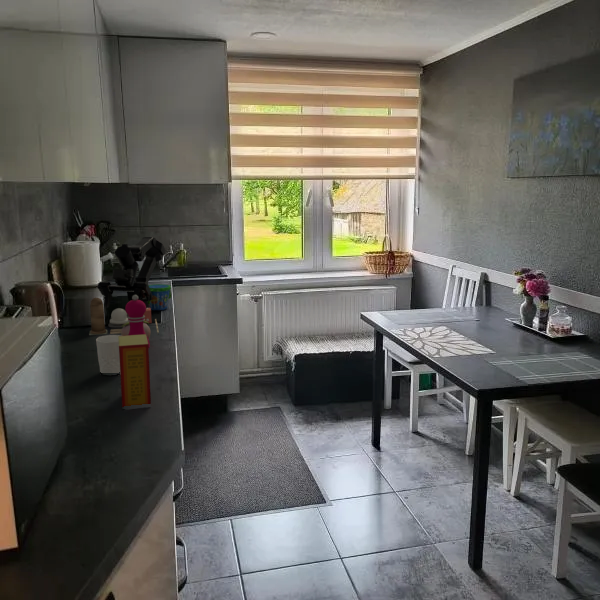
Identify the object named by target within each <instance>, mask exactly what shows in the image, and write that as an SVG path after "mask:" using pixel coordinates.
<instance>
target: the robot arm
mask: <svg viewBox="0 0 600 600" xmlns="http://www.w3.org/2000/svg"><path fill="white" fill-rule="evenodd" d="M114 255H115V257H116V259H117V261H118V263H119V265H120V266H121V269H113V270H112V276H111V278H112V279H114V283H115V284H116V285H115V284H113V285H112V283H111V282H110V281H98V283H97V289H98V291H99V293H100V294H101V296H103V297H104V301H105V302H104V303H105V308H106V309H108V308H109V307H110V304H111V301H112V299H113V294H114V292H126V294H127V299H128V302H129V301H131V300H133V299H132V297H133V295H137V296H138V300H141V301H143V302H144V303H145V305H146V308H149V304H148V301H150V300H152V292H151V290H150V288H149V285H150V284H149V282H150V279H151V276H152V273H153V272H154V268H155V267H156V264H157V263H159V262H160V261H161V260H163V258H164V256H165V255H166V248H165V246H164V244H163V242H160V241H159V240H158V239H156V237H154V236H144V237H142V239H141V240H140V241H138V242H137V243H136V244H134V245H129V244H127V243H122V245H121V246H119V247H117V248H116V249H115V250H114ZM138 262H143V263H142V265H141V267H140V268H139V266H140V265H139V264H138ZM137 272H138V273H137Z"/></svg>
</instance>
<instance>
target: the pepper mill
mask: <svg viewBox="0 0 600 600" xmlns="http://www.w3.org/2000/svg"><path fill="white" fill-rule="evenodd" d="M132 299H133V300H130V301H129V300H128V302H127V303H126V304H125V309H124V310H125V311H126V313H127V318H128V321H129V323H130V331H129V334H128V335H140V334H146V333H145V331H144V327H143V322H144V320H145V318H144V317H145V316H144V313H145V312H146V305H145V303H144V302H143V301H141V300H138V296H137V295H133V297H132ZM146 336H147V335H146ZM149 339H150V338H149ZM149 339H148V337H147V341H148V348H149V349H150V346H151V344H150V340H149Z"/></svg>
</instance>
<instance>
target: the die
mask: <svg viewBox="0 0 600 600" xmlns="http://www.w3.org/2000/svg"><path fill="white" fill-rule="evenodd" d="M144 316H145V317H144V318H145V320H144V321H147V322H148V323H149V324H153V323H152V310H151V308H150V307H148V308H146V312H145V313H144ZM148 323H147V324H148Z"/></svg>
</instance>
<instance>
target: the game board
mask: <svg viewBox="0 0 600 600" xmlns="http://www.w3.org/2000/svg"><path fill="white" fill-rule="evenodd" d="M154 322H155V325H156V326H155V328H156V333H157V334H158V333H159V334H160V332H159V327H158V326H159V325H158V322H157V318H155V319H154ZM122 325H124V324H111V323H110V322H109V323H108V327H109V328H111V329H110V331H109V335H117V334H121V331H122V328H123V327H124V326H123V327H122ZM95 335H96V336H97V335H100V334H91V330H89V333H88V336H95ZM102 335H108V329H106V333H103V334H102Z"/></svg>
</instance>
